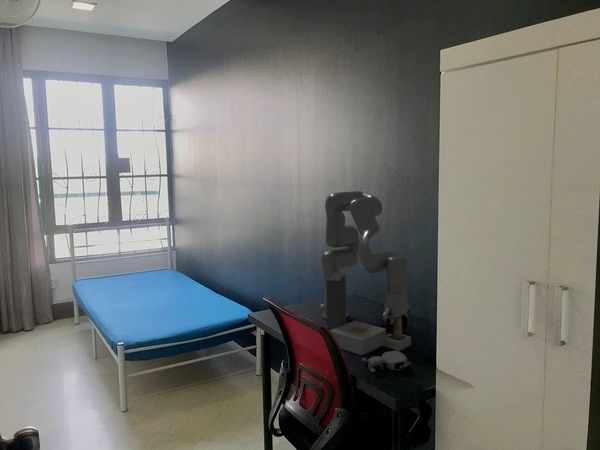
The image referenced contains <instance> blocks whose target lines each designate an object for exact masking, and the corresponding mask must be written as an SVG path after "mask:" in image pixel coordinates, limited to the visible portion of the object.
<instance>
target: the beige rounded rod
mask: <svg viewBox="0 0 600 450" xmlns="http://www.w3.org/2000/svg"><path fill="white" fill-rule="evenodd" d="M390 316H393V315H390ZM392 324H393V334H391V339H393V340H397V341H400V340H402V334H403V333H402V332H403V331H402V328H403V327H402V315H401V316H399V317H397V318H394V321H393V323H392Z"/></svg>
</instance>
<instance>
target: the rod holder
mask: <svg viewBox="0 0 600 450" xmlns="http://www.w3.org/2000/svg"><path fill="white" fill-rule="evenodd" d="M411 345H412V336H410V335H406V334H403V333H402V340H400V341H397V340H393V339H391V334H390V333H387V335H386V336H384V337H382V346H381V347H384V348H389V349H392V350H393V351H395V350H397V349H398V352H400V351H402V350H404V349H406V348H408V347H410V346H411Z"/></svg>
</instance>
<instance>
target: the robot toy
mask: <svg viewBox="0 0 600 450" xmlns="http://www.w3.org/2000/svg"><path fill="white" fill-rule="evenodd" d="M361 361H362V362H365V364H364V366H365V367H366V368H367V369H368V370H369V371H370V372H371V373H378V372H380V371H381V370H383V369H385V368H387V369H389V370H391V371H397V372H399V371H401V370H404V369H406V368H407V367H408V366H409V365H411V363H412V362H411V361H410V362H409V361H408V358H407V356H406V355H405V354H403V352H400V351H398V349H397V350H390V351H385V352H384V353H382V355H381V356H380V355H378V356H366V357H362V358H361Z"/></svg>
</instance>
